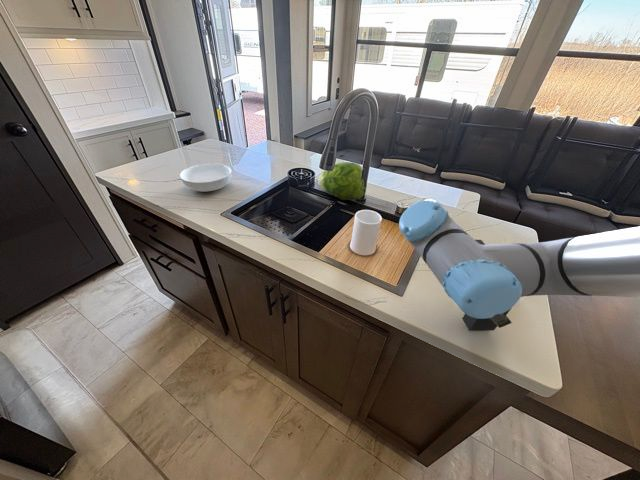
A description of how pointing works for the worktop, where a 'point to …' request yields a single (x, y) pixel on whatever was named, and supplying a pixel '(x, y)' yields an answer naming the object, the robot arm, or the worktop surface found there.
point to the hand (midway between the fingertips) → (499, 316)
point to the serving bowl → (206, 177)
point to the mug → (365, 232)
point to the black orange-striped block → (479, 323)
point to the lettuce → (343, 181)
